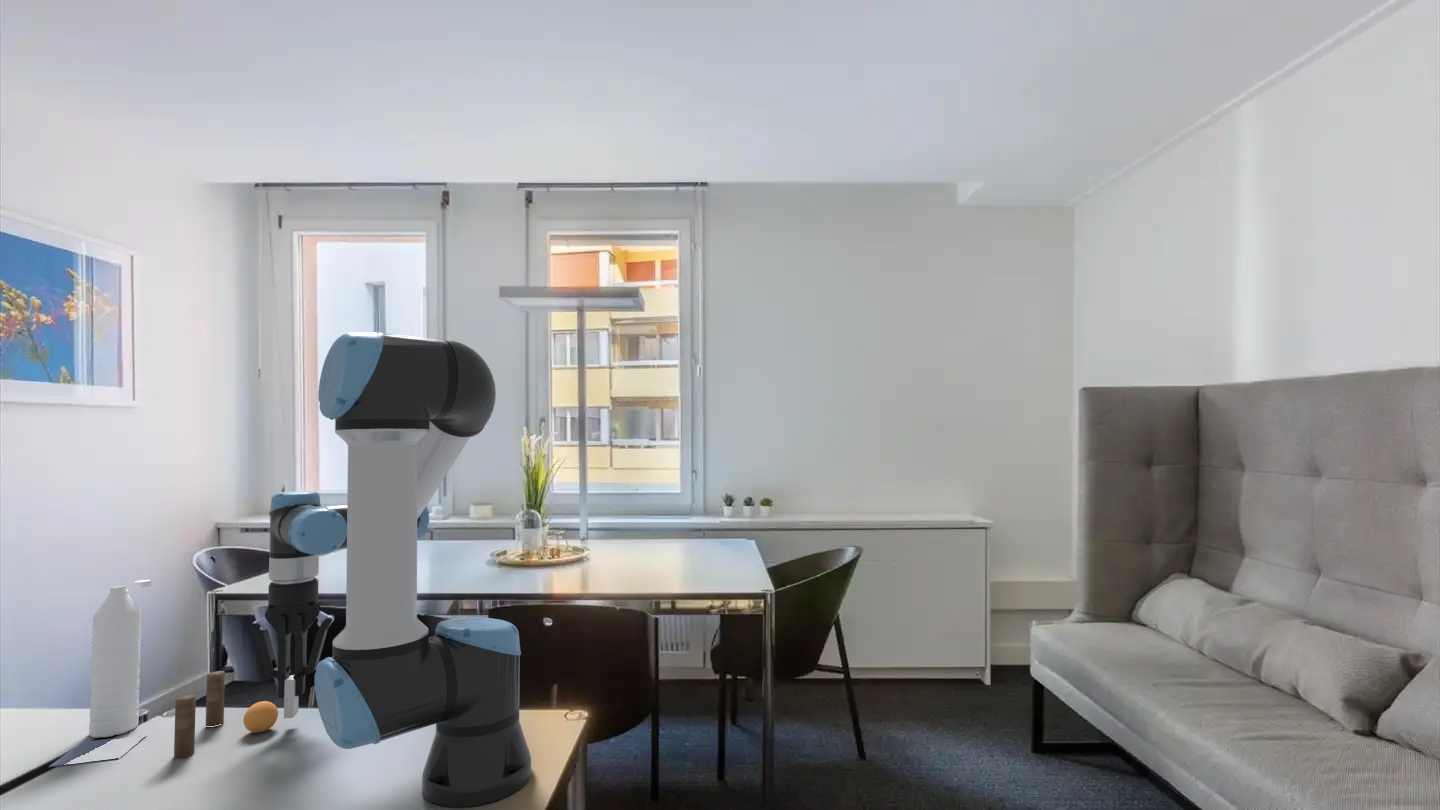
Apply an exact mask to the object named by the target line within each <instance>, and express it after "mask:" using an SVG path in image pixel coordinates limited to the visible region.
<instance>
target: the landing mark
mask: <svg viewBox="0 0 1440 810" xmlns="http://www.w3.org/2000/svg"><path fill="white" fill-rule="evenodd" d="M115 738H116V737H115ZM115 738H107V739H106V738H105V739H96V740H87V741H82V742H81V743H79V744H78V745H77V746H75V747H74V748H72V749H71V750H69V751H68V752H67V753H65V754H64V755H62V756H60V758H59V759H58V758H57V760H55V761H54V762H53V763H51V764H50V765H48V768H55V767H63V766H62V765H64V764H66V763H68V762H70V761H71V760H73V759H75V758H77V757H80V756H81V755H85V754H86V753H89V752H90V751H92V750H94V749H95V748H98V747H100V746H102V745H104V744H106V743H107V742H109V741H111V740H113V739H115Z"/></svg>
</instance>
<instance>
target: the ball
mask: <svg viewBox="0 0 1440 810" xmlns="http://www.w3.org/2000/svg"><path fill="white" fill-rule="evenodd" d="M278 717H279V710H278V707H277V706H276V705H275V704H274V703H273V702H271V701H267V700H264V701H263V700H262V701H257V702H256V703H254V704H252V705H251V706H249V707H248V709H247V710H246V711H245V713H244V716H243V725H244V727H245V729H246V730H247V731H248V732H250V733H255V734H257V733H258V734H259V732H260V733H264V732H265V731H268V730H269V729H271V728H272V727H273V726H274V725H275V724H276V722H277V720H278Z"/></svg>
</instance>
